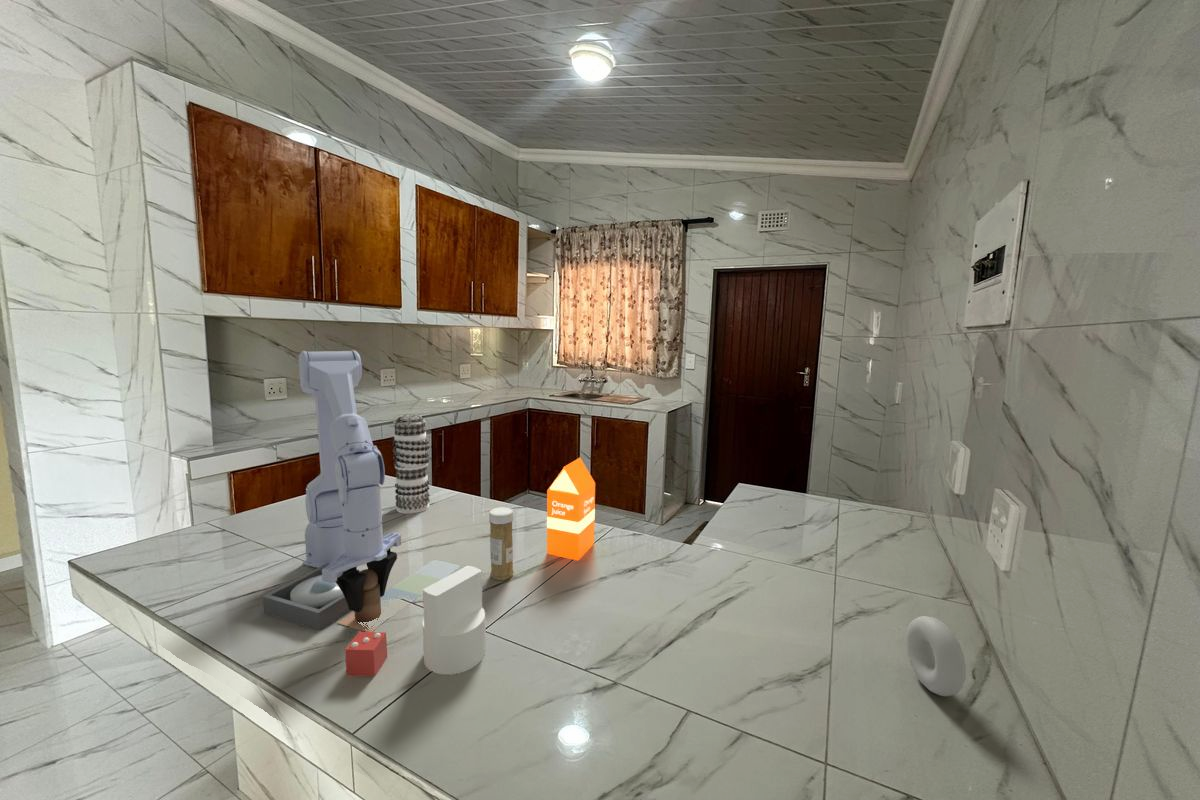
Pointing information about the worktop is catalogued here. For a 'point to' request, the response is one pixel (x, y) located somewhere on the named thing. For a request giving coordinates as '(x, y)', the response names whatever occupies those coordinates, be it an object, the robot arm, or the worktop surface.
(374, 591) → the walnut pawn
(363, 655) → the red die
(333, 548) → the robot arm
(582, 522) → the orange juice
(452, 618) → the cylinder with rectangular tab
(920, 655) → the donut
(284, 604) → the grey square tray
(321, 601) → the dome
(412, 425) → the decorative candle
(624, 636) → the worktop surface
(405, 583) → the strip
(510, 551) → the sprinkles bottle
